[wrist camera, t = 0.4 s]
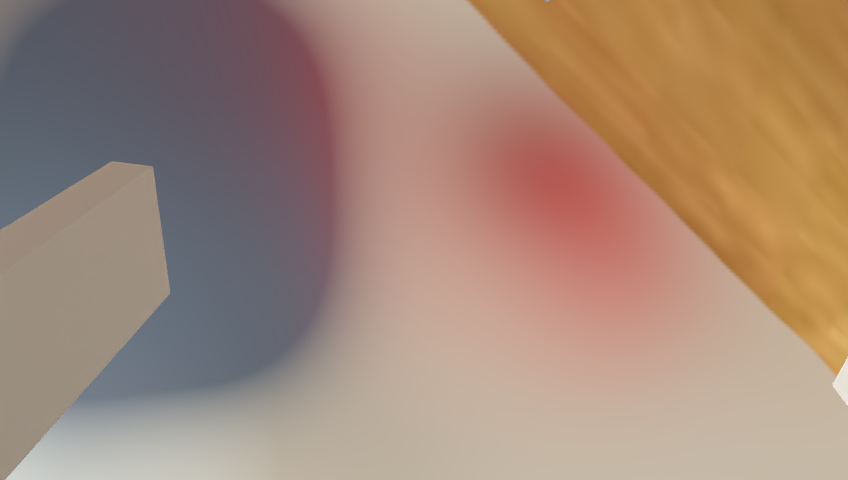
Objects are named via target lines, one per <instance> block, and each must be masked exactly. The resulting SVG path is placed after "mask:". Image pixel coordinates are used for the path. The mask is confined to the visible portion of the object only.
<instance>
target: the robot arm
mask: <svg viewBox="0 0 848 480" xmlns="http://www.w3.org/2000/svg"><path fill="white" fill-rule="evenodd" d="M169 294H170V288H169V281H168V274H167V266H166V259H165V252H164V245H163V237H162V230H161V223H160V216H159V209H158V201H157V194H156V188H155V180H154V173H153V167H152V166H145V165H137V164H129V163H121V162H114V161H113V162H110V163H108V164H107V165H105V166H104V167H102V168H100V169H99V170H97V171H95V172H94V173H92V174H91V175H89V176H87V177H86V178H84V179H82V180H81V181H79V182H78V183H76V184H74V185H73V186H71V187H70V188H68V189H66V190H65V191H63V192H61V193H60V194H58V195H57V196H55V197H53V198H52V199H50V200H49V201H47V202H45V203H44V204H42V205H40V206H39V207H37V208H36V209H34V210H32V211H31V212H29V213H28V214H26V215H24V216H23V217H21V218H19V219H18V220H16V221H15V222H13V223H11V224H10V225H8V226H7V227H5V228H3V229H1V230H0V480H5V479H6V478H7V477H8V476H9V475H10V474H11V472H12V471H13V470H14V469H15V468H16V467H17V465H18V464H19V463H20V462H21V461H22V460H23V459H24V458H25V457H26V455H27V454H28V453H29V452H30V451H31V450H32V449H33V448H34V446H35V445H36V444H37V443H38V442H39V441H40V440H41V438H42V437H43V436H44V435H45V434H46V433H47V432H48V431H49V429H50V428H51V427H52V426H53V425H54V424H55V423H56V422H57V420H58V419H59V418H60V417H61V416H62V415H63V414H64V412H65V411H66V410H67V409H68V408H69V407H70V406H71V405H72V403H73V402H74V401H75V400H76V399H77V398H78V397H79V396H80V394H81V393H82V392H83V391H84V390H85V388H87V386H88V385H89V384H90V383H91V382H92V381H93V380H94V379H95V377H96V376H97V375H98V374H99V373H100V372H101V371H102V369H103V368H104V367H105V366H106V365H107V364H108V363H109V362H110V360H111V359H112V358H113V357H114V356H115V355H116V354H117V353H118V351H119V350H120V349H121V348H122V347H123V346H124V345H125V344H126V342H127V341H128V340H129V339H130V338H131V337H132V335H133V334H134V333H135V332H136V331H137V330H138V329H139V328H140V326H141V325H142V324H143V323H144V322H145V321H146V320H147V319H148V317H149V316H150V315H151V314H152V313H153V312H154V311H155V310H156V308H157V307H158V306H159V305H160V304H161V303H162V302H163V301H164V299H165V298H166V297H167V296H168V295H169ZM833 387H834V388H835V389H836V391H837V392H838V394H839V395H840V396H841V398H842V399H843V400H844V402H845V403H846V405H847V406H848V358H847V359H846V361H845V363H844V365H843V367H842V368H841V370H840V372H839V374H838V376H837V377H836V379H835V381H834V383H833Z"/></svg>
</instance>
